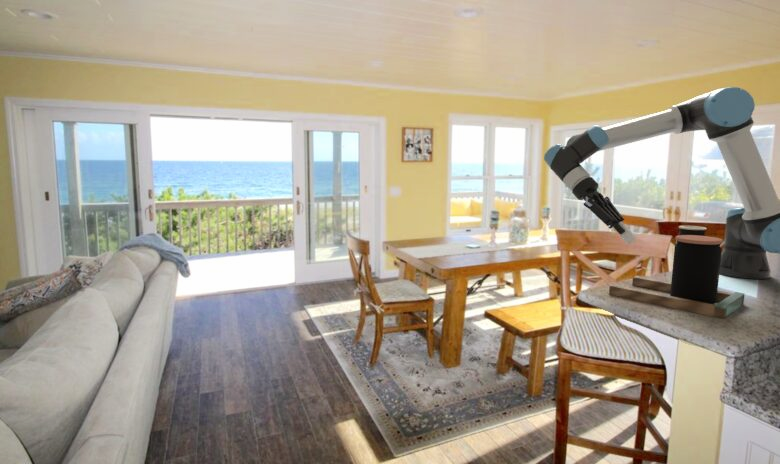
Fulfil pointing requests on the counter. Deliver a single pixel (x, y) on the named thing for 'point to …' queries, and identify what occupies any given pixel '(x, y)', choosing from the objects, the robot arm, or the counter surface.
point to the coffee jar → (696, 268)
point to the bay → (721, 310)
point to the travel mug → (692, 230)
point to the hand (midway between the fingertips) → (632, 241)
